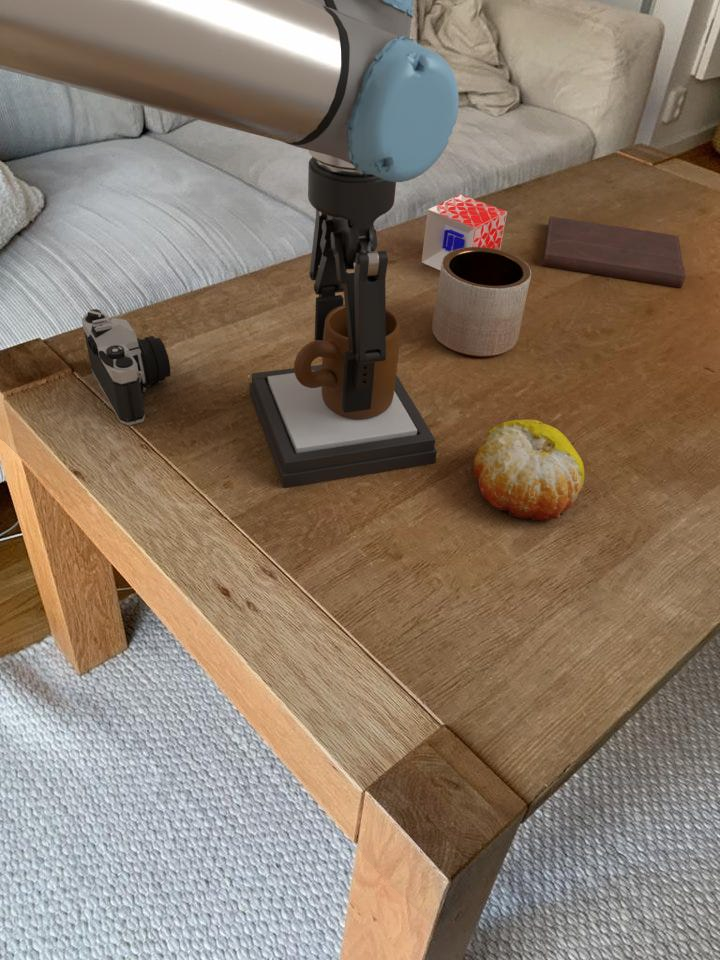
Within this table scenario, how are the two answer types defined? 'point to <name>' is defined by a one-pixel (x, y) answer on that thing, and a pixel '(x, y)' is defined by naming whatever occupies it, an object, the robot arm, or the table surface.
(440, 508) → the table surface
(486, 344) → the planter
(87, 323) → the camera
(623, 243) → the notebook
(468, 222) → the red and white box
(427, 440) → the scale
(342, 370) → the mug
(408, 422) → the scale pan
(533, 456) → the fruit
